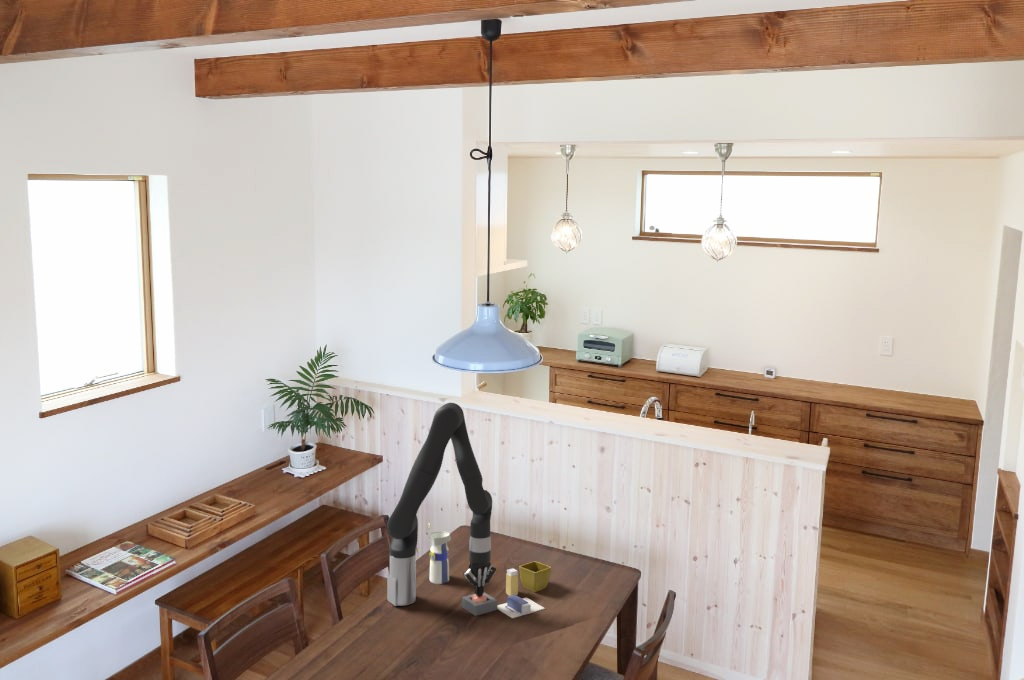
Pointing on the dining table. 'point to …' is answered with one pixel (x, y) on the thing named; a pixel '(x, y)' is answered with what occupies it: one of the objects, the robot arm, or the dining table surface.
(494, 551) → the dining table surface
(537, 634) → the dining table surface
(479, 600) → the button
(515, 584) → the ochre marker
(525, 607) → the block
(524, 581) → the flower pot
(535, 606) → the paper pad
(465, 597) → the button housing
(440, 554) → the water bottle
